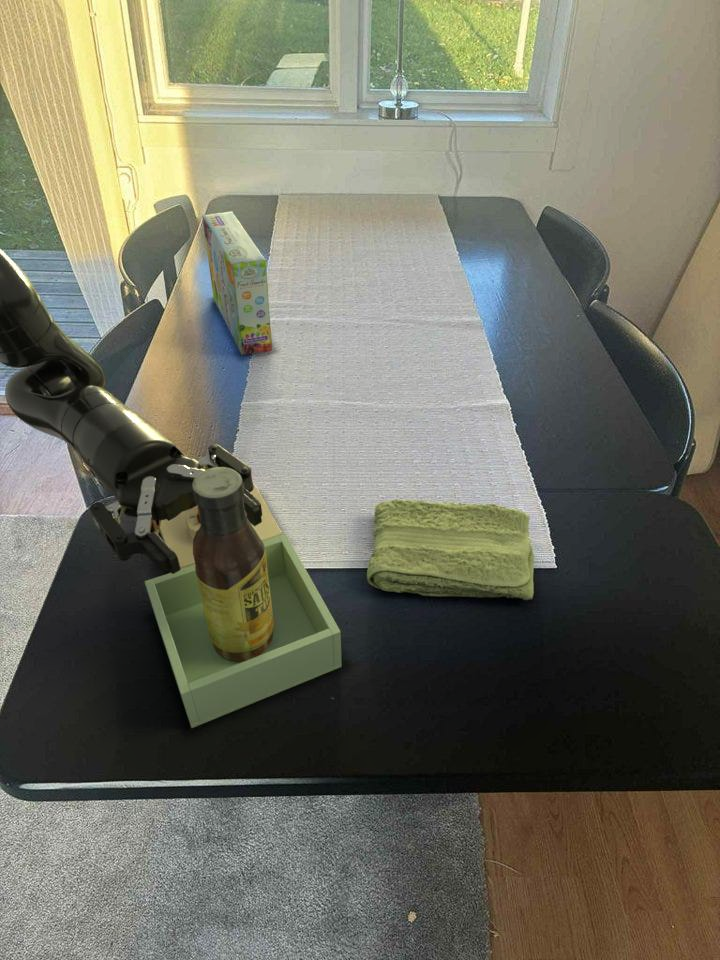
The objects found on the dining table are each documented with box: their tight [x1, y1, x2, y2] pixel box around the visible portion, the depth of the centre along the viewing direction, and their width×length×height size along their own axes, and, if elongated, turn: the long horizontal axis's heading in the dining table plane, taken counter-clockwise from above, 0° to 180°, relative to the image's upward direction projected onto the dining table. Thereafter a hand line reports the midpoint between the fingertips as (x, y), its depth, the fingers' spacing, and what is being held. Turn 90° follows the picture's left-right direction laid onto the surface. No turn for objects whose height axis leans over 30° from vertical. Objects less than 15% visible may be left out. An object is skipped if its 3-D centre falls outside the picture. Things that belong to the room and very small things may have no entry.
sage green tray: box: [144, 533, 343, 729], centre depth 67 cm, size 15×14×6 cm
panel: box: [159, 484, 283, 569], centre depth 78 cm, size 12×9×4 cm
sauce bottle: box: [192, 467, 274, 662], centre depth 62 cm, size 6×6×20 cm
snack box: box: [201, 210, 273, 356], centre depth 112 cm, size 21×6×15 cm, turn 22°
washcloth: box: [366, 499, 535, 601], centre depth 76 cm, size 13×18×3 cm
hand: (218, 540), depth 61 cm, fingers open, 8 cm apart
